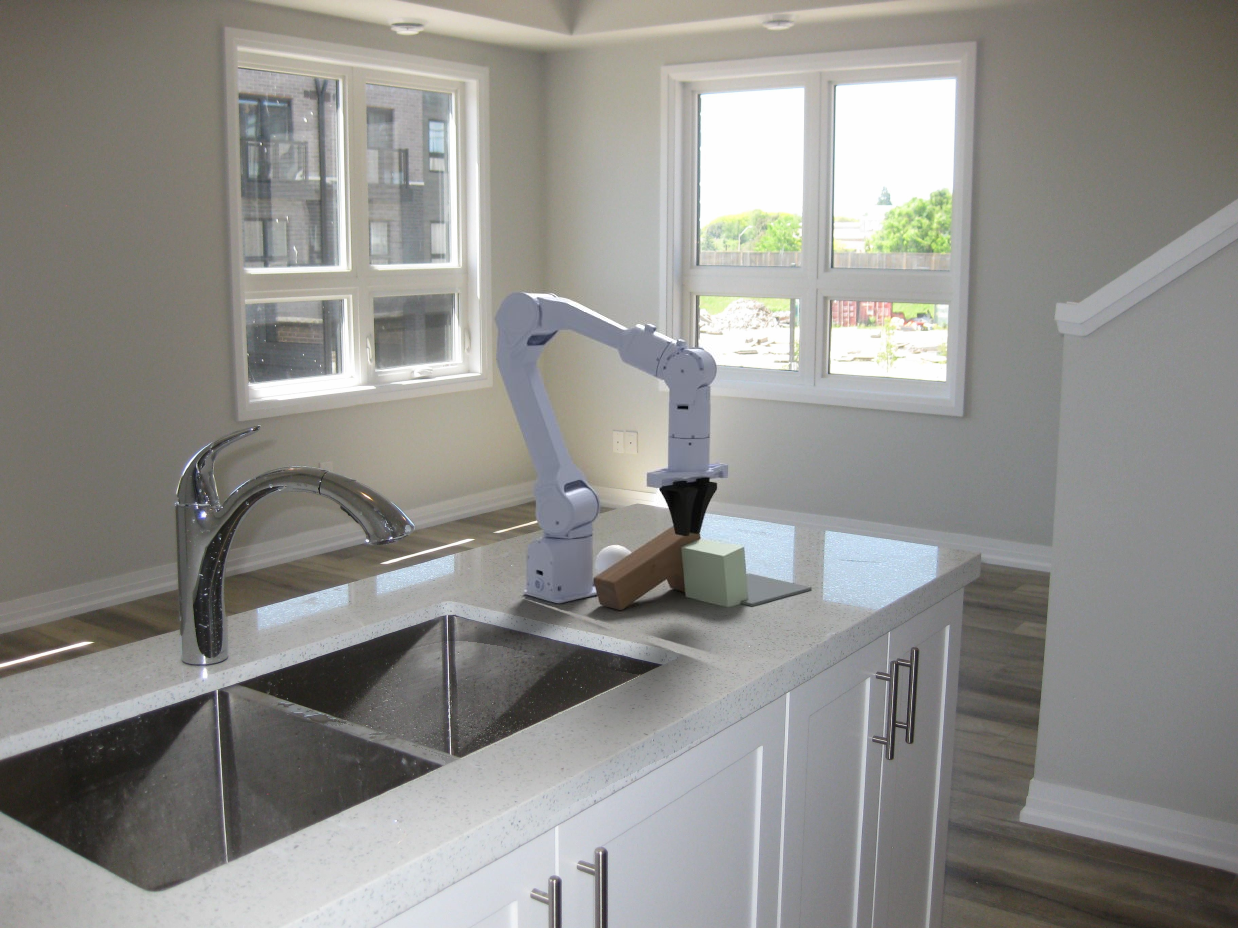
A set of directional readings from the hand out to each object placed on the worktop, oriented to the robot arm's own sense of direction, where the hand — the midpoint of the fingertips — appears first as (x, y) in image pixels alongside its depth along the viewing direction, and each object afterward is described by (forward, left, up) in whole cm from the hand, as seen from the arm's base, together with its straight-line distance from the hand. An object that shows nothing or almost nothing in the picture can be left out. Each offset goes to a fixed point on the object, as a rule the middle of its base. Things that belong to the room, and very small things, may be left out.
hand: (687, 533), depth 160 cm
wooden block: (+9, +6, -5) cm, 12 cm away
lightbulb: (+11, +17, -9) cm, 22 cm away
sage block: (+7, 0, -10) cm, 12 cm away
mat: (+14, 0, -10) cm, 17 cm away
